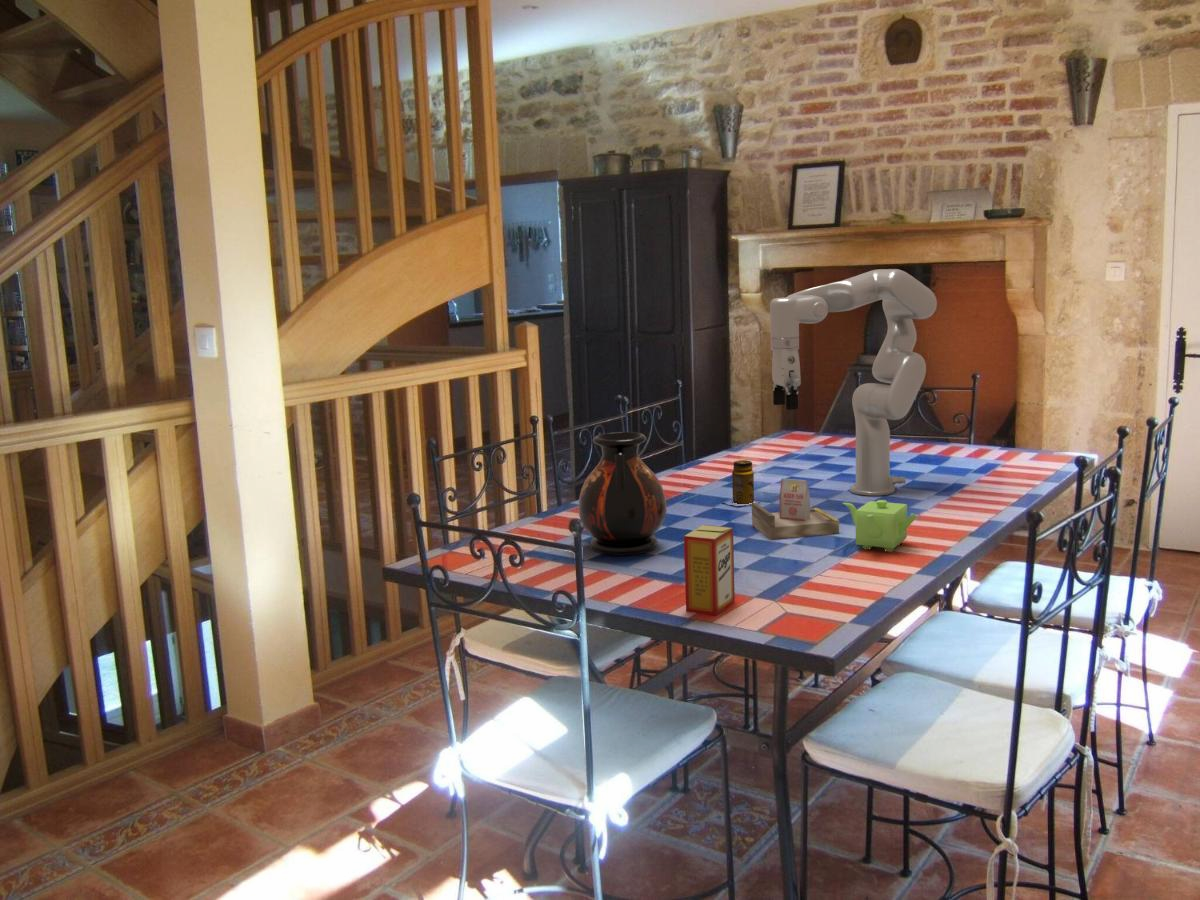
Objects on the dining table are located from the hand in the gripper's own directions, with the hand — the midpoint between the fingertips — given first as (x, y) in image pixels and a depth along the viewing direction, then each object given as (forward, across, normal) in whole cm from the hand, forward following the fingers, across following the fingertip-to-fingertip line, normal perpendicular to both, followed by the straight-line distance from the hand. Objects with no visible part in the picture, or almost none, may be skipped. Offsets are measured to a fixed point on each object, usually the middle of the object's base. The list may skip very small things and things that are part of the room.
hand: (785, 406), depth 283 cm
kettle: (+28, -43, -7) cm, 52 cm away
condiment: (+29, +10, +10) cm, 32 cm away
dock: (+28, -22, +6) cm, 36 cm away
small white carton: (+26, -22, +6) cm, 34 cm away
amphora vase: (+28, -24, +51) cm, 63 cm away
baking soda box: (+28, -72, +43) cm, 89 cm away
